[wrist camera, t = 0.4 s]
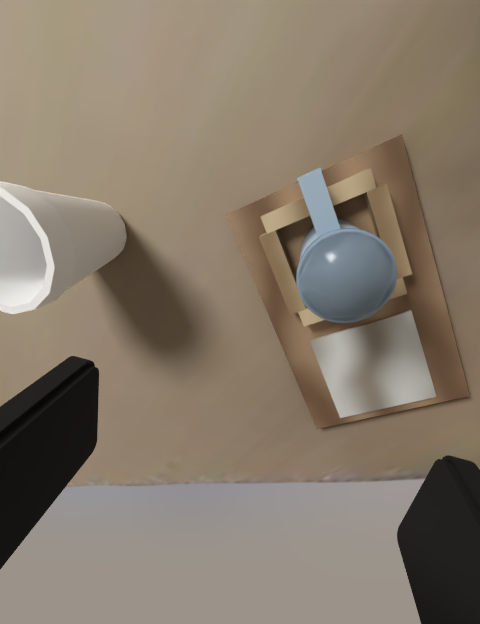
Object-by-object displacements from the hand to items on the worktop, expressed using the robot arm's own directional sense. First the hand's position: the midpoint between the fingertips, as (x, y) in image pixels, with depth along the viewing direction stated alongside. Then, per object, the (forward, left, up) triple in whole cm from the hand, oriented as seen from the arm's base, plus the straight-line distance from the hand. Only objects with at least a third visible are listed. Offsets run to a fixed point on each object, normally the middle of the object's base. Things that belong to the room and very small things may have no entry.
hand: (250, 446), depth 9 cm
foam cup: (+18, -11, -26) cm, 33 cm away
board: (-4, +6, -26) cm, 27 cm away
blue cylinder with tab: (-4, -1, -24) cm, 25 cm away
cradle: (-4, 0, -24) cm, 25 cm away
